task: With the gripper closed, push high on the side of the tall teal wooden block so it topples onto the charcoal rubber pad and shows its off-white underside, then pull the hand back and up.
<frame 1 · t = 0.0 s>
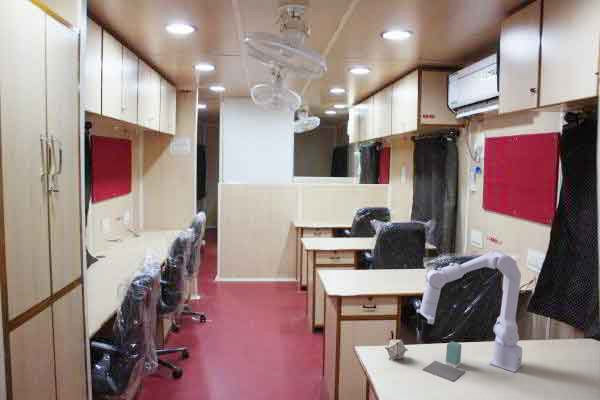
hand: (422, 334, 176), 11 cm above the table, tool pointing down, fingers open, 7 cm apart
game die: (395, 359, 179), on the table
teal block: (452, 364, 175), on the table
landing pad: (443, 371, 169), on the table
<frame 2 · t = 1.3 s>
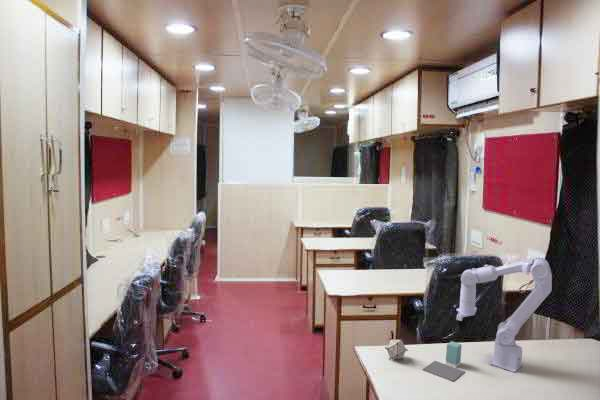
hand: (465, 333, 181), 9 cm above the table, tool pointing down, fingers open, 4 cm apart
nothing on the table moved.
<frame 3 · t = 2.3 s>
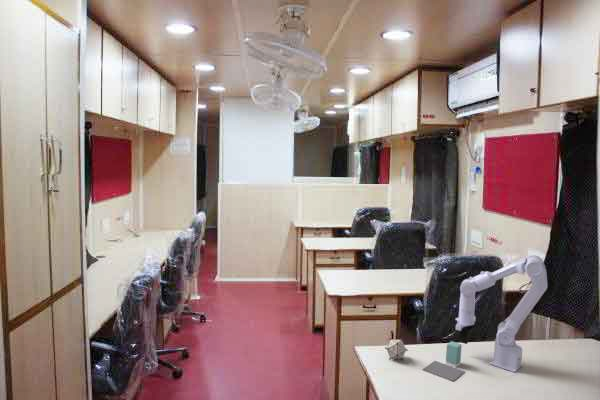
hand: (464, 342, 182), 6 cm above the table, tool pointing down, fingers closed
nothing on the table moved.
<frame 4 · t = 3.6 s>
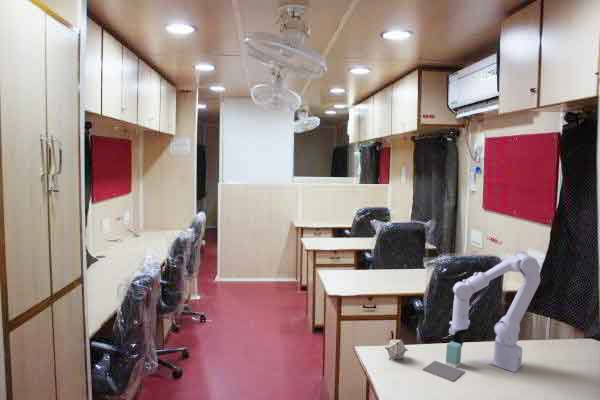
hand: (458, 347, 178), 6 cm above the table, tool pointing down, fingers closed
nothing on the table moved.
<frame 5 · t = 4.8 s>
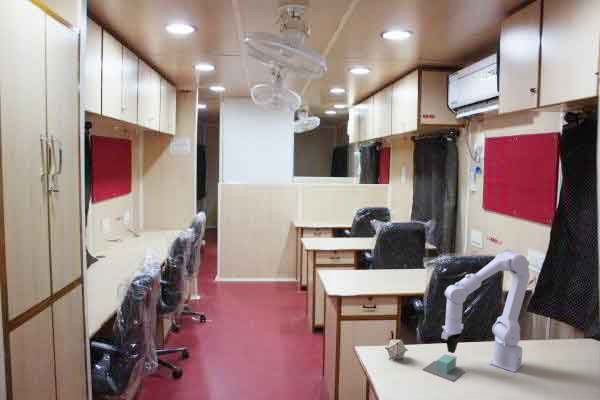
hand: (451, 351, 173), 6 cm above the table, tool pointing down, fingers closed
teal block: (451, 359, 174), point 2 cm above the table, tilted 90°, touching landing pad
everything else where it was.
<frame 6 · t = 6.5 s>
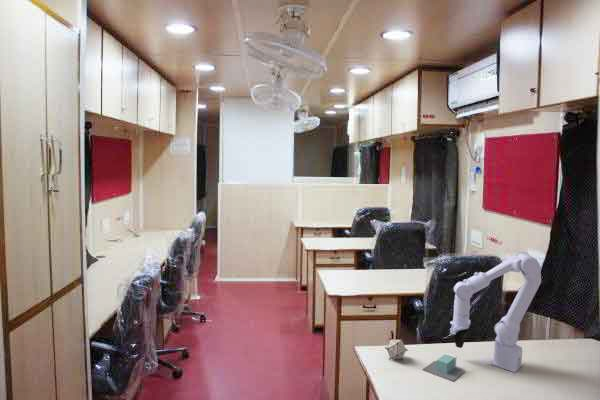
hand: (459, 346, 178), 5 cm above the table, tool pointing down, fingers closed
nothing on the table moved.
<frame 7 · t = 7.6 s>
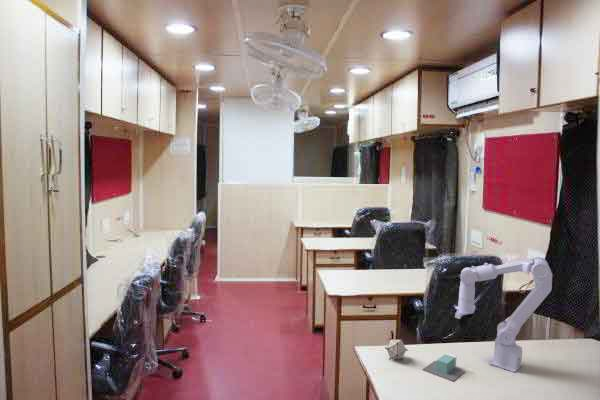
hand: (463, 331, 181), 10 cm above the table, tool pointing down, fingers closed
nothing on the table moved.
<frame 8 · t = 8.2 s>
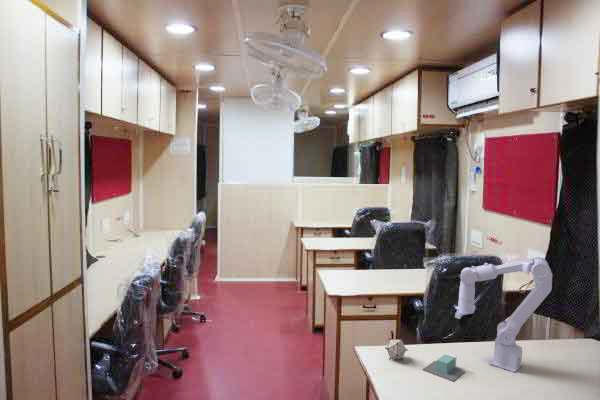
hand: (463, 331, 181), 10 cm above the table, tool pointing down, fingers closed
nothing on the table moved.
at the end: teal block tilted 90°; teal block touching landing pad; the gripper is holding nothing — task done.
